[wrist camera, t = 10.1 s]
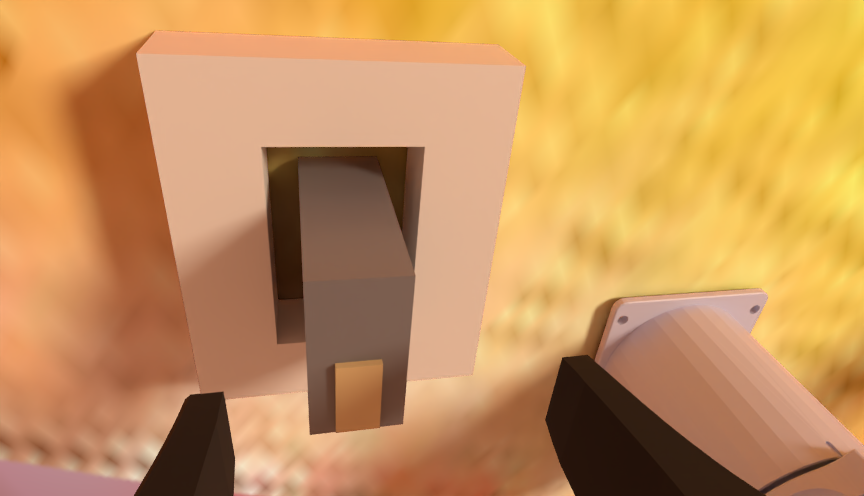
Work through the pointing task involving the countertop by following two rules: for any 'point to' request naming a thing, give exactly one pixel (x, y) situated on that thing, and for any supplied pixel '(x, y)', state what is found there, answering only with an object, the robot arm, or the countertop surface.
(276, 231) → the countertop surface
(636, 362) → the robot arm
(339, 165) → the key peg
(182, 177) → the socket block
